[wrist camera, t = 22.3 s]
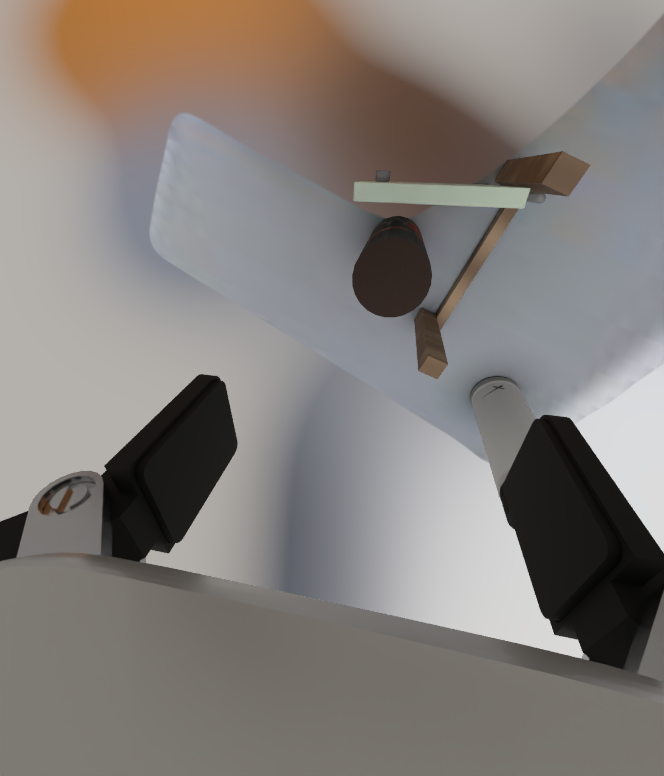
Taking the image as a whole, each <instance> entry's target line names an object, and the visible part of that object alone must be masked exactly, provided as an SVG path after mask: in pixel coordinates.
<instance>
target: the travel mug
mask: <svg viewBox="0 0 664 776" xmlns="http://www.w3.org/2000/svg"><path fill="white" fill-rule="evenodd" d="M470 400H471V404H472V407H473V410H474V414H475V417H476V420H477V424H478V427H479V430H480V434H481V437H482V440H483V444H484V447H485V450H486V454H487V457H488V460H489V463H490V467H491V470H492V474H493V477H494V480H495V483H496V487H497V490H498V493H499V497H500V499H501V501H502V504H503V508H504V511H505V514H506V518H507V521H508V523H509V525H510V526H511V527H512V528H513V529H515V528H514V525H513V522H512V519H511V516H510V512H509V509H508V506H507V503H506V500H505V497H504V493H503V484H504V481H505V479H506V476H507V474H508V472H509V470H510V468H511V466H512V464H513V462H514V460H515V458H516V456H517V454H518V452H519V449H520V447H521V445H522V443H523V441H524V439H525V437H526V435H527V433H528V431H529V429H530V427H531V425H532V423H533V421H534V420H535V417H534V415H533V413H532V411H531V409H530V408H529V406H528V404H527V402H526V400H525V399H524V397H523V395H522V393H521V391H520V389H519V388H518V386H517V385H516V383H515V382H513V381H512V380H510V379H508V378H505V377H491V378H487V379H485V380H483V381H481V382H479V383H478V384H477V385H476V386H475V387H474V388H473V390H472V392H471V395H470Z"/></svg>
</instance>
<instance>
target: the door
mask: <svg viewBox="0 0 664 776" xmlns="http://www.w3.org/2000/svg"><path fill="white" fill-rule="evenodd" d="M389 179H390V171H376V181H360V182H355V183H354V199H353V201H362V202H384V203H407V204H429V205H452V206H474V207H497V208H519V209H524V207H525V204H526V201H529V202H534V203H539V204H540V203H542V202H544V200H545V198H546V196H545V194H541V193H533V192H530V188H521V187H510V186H499V185H483V184H453V183H425V182H424V183H423V182H396V181H395V182H394V181H389Z"/></svg>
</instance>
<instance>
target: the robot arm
mask: <svg viewBox="0 0 664 776" xmlns="http://www.w3.org/2000/svg"><path fill="white" fill-rule="evenodd" d="M236 449H237V438H236V433H235V428H234V424H233V419H232V415H231V409H230V404H229V400H228V395H227V390H226V385H225V383H224V382H223V381H221V380H220V378H219V377H218V376H211V375H203V374H201V375H198V376H197V377H196V378H195V379H194V380H193V381H192V382H191V383H190V384H189V385H188V386H186V387H185V388H184V389H183V390H182V391H181V392H180V393H179V394H178V395H177V396H176V397H175V398H174V399H173V400H172V401H171V402H170V403H169V404H168V405H167V406H166V407H165V408H164V409H163V410H162V411H161V412H160V413H159V414H158V415H157V416H155V417H154V418H153V419H152V420H151V421H150V422H149V423H148V424H147V425H146V426H145V427H144V428H143V429H142V430H141V431H140V432H139V433H138V434H137V435H136V436H135V437H134V438H133V439H132V440H131V441H130V442H129V443H128V444H126V446H124V447H123V448H122V449H121V450H120V451H119V452H118V453H117V454H116V455H115V456H114V457H113V458H112V459H111V460H110V461H109V462H108V463H107V464H106V465H105V468H106V470H107V471H105V473H103V475H101V476H100V475H99V474H98V473H96V472H92V471H80V472H76V473H71V474H69V475H66V476H64V477H61V478H59V479H57V480H55V481H54V482H52V483H50V484H49V485H48V486H46V487H45V488H44V489H42V490H41V491H40V492H39V493H38V494H37V495H36V497H35V498H34V499H33V501H32V503H31V505H30V507H29V511H27V512H24V513H22V514H19V515H17V516H14V517H11V518H9V519H6V520H3V521H1V522H0V776H664V553H663V552H662V550H661V549H660V547H659V546H658V544H657V543H656V542H655V540H654V539H653V537H652V536H651V534H650V533H649V531H648V530H647V529H646V527H645V526H644V524H643V523H642V521H641V520H640V518H639V517H638V516H637V514H636V513H635V511H634V510H633V508H632V507H631V505H630V504H629V503H628V501H627V500H626V498H625V497H624V495H623V494H622V493H621V491H620V490H619V488H618V487H617V485H616V484H615V482H614V481H613V480H612V478H611V477H610V475H609V474H608V472H607V471H606V469H605V468H604V466H603V465H602V464H601V462H600V461H599V459H598V458H597V457H596V455H595V454H594V452H593V451H592V449H591V448H590V446H589V445H588V443H587V442H586V440H585V439H584V438H583V436H582V435H581V433H580V432H579V430H578V429H577V427H576V426H575V425H574V423H573V422H572V420H571V419H570V418H567V417H560V416H552V415H543V416H542V417H541V418H540V419H535V420H534V421H533V423H532V425H531V427H530V429H529V431H528V433H527V435H526V437H525V439H524V441H523V443H522V445H521V447H520V449H519V452H518V454H517V456H516V458H515V460H514V462H513V464H512V466H511V468H510V470H509V472H508V474H507V476H506V479H505V481H504V484H503V493H504V497H505V500H506V503H507V506H508V509H509V512H510V516H511V519H512V522H513V525H514V528H515V531H516V535H517V537H518V541H519V544H520V547H521V550H522V553H523V557H524V559H525V563H526V566H527V569H528V572H529V576H530V579H531V582H532V585H533V588H534V591H535V595H536V598H537V601H538V604H539V607H540V610H541V612H542V614H543V616H544V617H545V618H547V619H549V620H550V623H551V626H552V629H553V632H554V634H555V635H559V636H563V637H568V638H573V639H578V640H579V643H580V646H581V649H582V651H583V653H584V654H583V656H582V659H580V658H575V657H572V656H568V655H563V654H559V653H555V652H550V651H547V650H543V649H539V648H534V647H530V646H526V645H521V644H517V643H513V642H508V641H504V640H499V639H495V638H490V637H486V636H482V635H477V634H472V633H468V632H464V631H459V630H455V629H450V628H445V627H441V626H437V625H432V624H427V623H423V622H418V621H414V620H410V619H405V618H401V617H396V616H392V615H387V614H382V613H378V612H373V611H369V610H363V609H359V608H355V607H350V606H346V605H341V604H337V603H332V602H327V601H322V600H318V599H313V598H308V597H304V596H300V595H295V594H290V593H286V592H281V591H276V590H272V589H267V588H263V587H258V586H253V585H248V584H243V583H239V582H234V581H230V580H225V579H220V578H215V577H211V576H206V575H201V574H196V573H192V572H187V571H182V570H178V569H173V568H168V567H163V566H157V565H152V564H147V563H146V558H145V557H146V556H147V554H148V553H149V551H150V550H155V551H160V552H164V553H169V552H170V551H171V549H172V547H173V546H174V544H175V543H178V542H180V541H181V540H182V539H183V537H184V536H185V534H186V532H187V531H188V529H189V528H190V526H191V524H192V523H193V521H194V519H195V518H196V516H197V514H198V513H199V511H200V509H201V508H202V506H203V505H204V503H205V501H206V500H207V498H208V496H209V495H210V493H211V491H212V490H213V488H214V487H215V485H216V483H217V482H218V480H219V478H220V477H221V475H222V473H223V471H224V470H225V468H226V467H227V465H228V463H229V462H230V460H231V459H232V457H233V455H234V454H235V452H236Z"/></svg>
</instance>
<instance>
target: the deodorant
mask: <svg viewBox="0 0 664 776" xmlns="http://www.w3.org/2000/svg"><path fill="white" fill-rule="evenodd" d="M431 278H432V272H431V265H430V261H429V258H428V255H427V252H426V249H425V245H424V242H423V239H422V236H421V233H420V231H419V229H418V227H417V226H416V224H415V223H414V222H413V221H411V220H410V219H408V218H405V217H401V216H395V217H390V218H387V219H385V220H384V221H382V222H381V223H379V224H378V226H377V227H376V228H375V229H374V231H373V233H372V235H371V236H370V238H369V240H368V242H367V244H366V245H365V247H364V249H363V251H362V253H361V255H360V256H359V258H358V260H357V262H356V264H355V267H354V271H353V275H352V279H353V289H354V292H355V295H356V297H357V299H358V300H359V302H360V304H361V305H362V306H363V307H365V308H366V309H367V310H368V311H370V312H372V313H373V314H375V315H378V316H382V317H397V316H402V315H405V314H407V313H409V312H411V311H413V310H414V309H415V308H416V307H417V306H418V305H420V304H421V302H422V301H423V300H424V298H425V297H426V295H427V293H428V291H429V288H430V286H431Z"/></svg>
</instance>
